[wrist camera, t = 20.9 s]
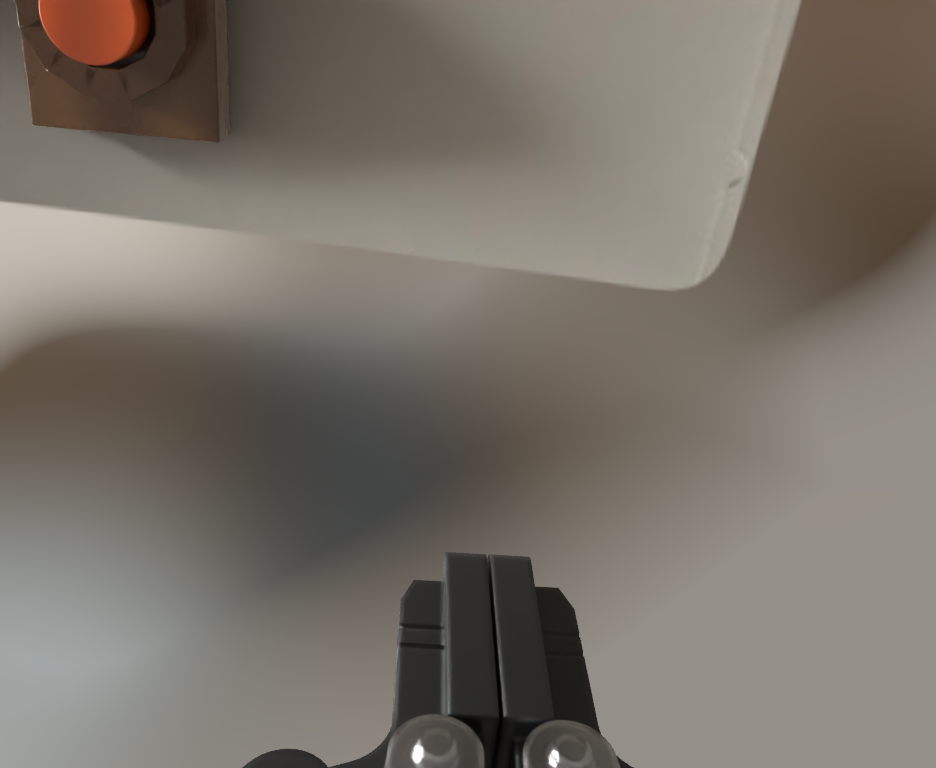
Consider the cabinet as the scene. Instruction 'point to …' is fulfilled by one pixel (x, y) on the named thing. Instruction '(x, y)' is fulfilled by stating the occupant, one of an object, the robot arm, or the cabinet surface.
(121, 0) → the button
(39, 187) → the cabinet surface
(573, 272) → the cabinet surface
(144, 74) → the control block
